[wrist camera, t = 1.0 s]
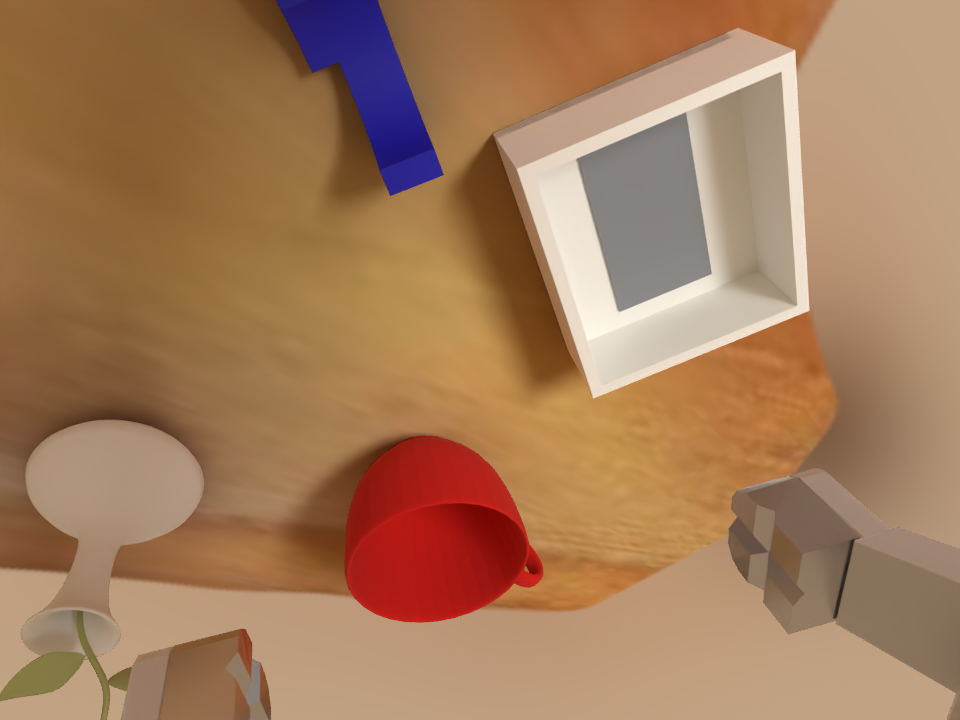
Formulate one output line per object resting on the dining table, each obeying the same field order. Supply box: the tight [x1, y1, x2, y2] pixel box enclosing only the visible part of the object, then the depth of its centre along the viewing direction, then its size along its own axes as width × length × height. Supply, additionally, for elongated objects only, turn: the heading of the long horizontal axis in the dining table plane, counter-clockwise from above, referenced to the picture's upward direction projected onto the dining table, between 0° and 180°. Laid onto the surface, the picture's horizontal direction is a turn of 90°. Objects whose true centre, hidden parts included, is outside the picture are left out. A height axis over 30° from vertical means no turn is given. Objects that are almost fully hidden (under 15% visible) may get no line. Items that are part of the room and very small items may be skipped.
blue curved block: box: [276, 0, 444, 196], centre depth 35 cm, size 12×4×6 cm, turn 17°
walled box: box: [493, 28, 809, 398], centre depth 44 cm, size 16×18×6 cm
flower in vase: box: [0, 419, 204, 720], centre depth 41 cm, size 13×11×25 cm
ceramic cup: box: [345, 436, 543, 622], centre depth 53 cm, size 13×17×10 cm
